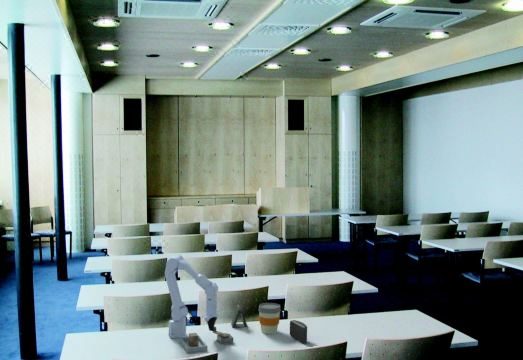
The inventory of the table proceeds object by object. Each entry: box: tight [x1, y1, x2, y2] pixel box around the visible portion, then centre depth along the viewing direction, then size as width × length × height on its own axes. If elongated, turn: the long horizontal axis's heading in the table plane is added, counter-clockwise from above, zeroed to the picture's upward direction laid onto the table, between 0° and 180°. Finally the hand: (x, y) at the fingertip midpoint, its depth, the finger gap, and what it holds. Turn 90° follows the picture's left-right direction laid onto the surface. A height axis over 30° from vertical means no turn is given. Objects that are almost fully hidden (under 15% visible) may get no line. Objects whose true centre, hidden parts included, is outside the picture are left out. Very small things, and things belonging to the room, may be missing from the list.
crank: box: [212, 326, 230, 337], centre depth 324 cm, size 12×4×3 cm, turn 47°
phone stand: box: [230, 304, 249, 329], centre depth 349 cm, size 9×6×12 cm, turn 99°
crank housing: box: [216, 333, 234, 346], centre depth 325 cm, size 7×14×3 cm, turn 20°
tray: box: [179, 335, 208, 354], centre depth 313 cm, size 11×17×2 cm, turn 20°
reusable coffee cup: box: [258, 302, 282, 335], centre depth 339 cm, size 13×13×15 cm
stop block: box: [188, 332, 199, 347], centre depth 313 cm, size 4×5×6 cm
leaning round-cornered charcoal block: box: [289, 319, 308, 345], centre depth 326 cm, size 16×5×9 cm, turn 28°
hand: (211, 330), depth 326 cm, fingers closed
